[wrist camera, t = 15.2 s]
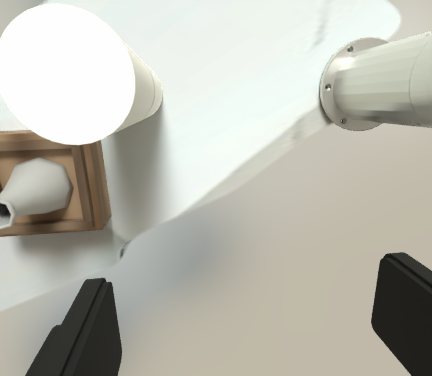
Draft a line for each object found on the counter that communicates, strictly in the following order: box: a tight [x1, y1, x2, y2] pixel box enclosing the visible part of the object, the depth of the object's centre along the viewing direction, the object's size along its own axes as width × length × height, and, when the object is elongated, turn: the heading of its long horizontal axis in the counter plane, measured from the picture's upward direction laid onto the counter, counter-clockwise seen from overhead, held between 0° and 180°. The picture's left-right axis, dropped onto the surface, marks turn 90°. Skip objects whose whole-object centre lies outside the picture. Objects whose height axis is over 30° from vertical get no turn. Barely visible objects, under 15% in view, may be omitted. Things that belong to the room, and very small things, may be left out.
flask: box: [0, 158, 73, 230], centre depth 32 cm, size 7×7×10 cm
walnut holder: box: [0, 130, 111, 237], centre depth 39 cm, size 13×13×6 cm
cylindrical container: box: [0, 4, 163, 145], centre depth 28 cm, size 7×7×25 cm
